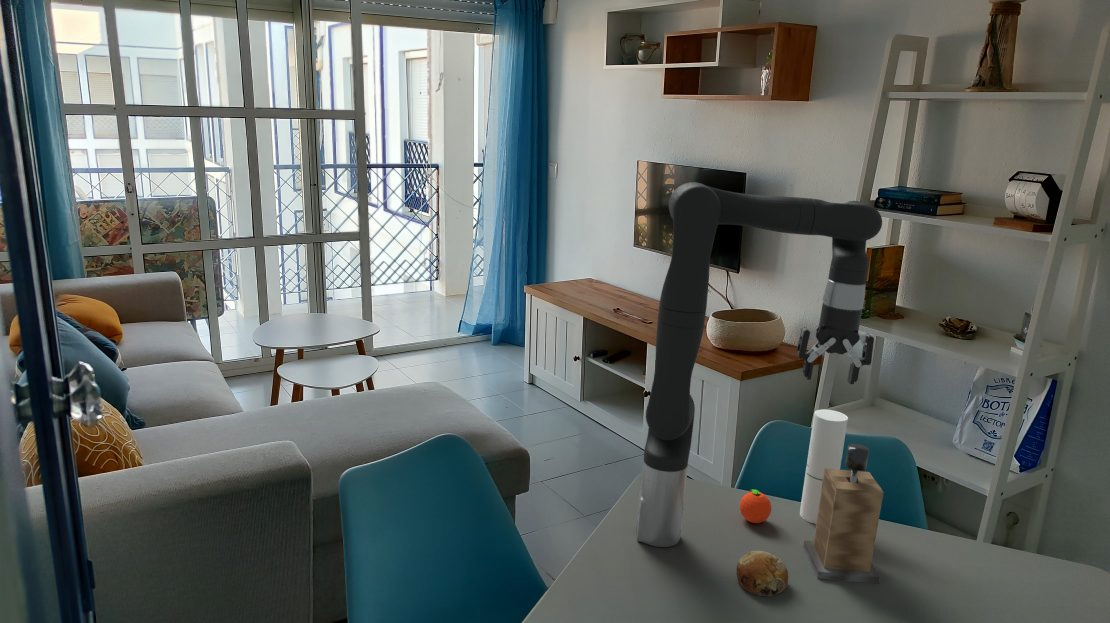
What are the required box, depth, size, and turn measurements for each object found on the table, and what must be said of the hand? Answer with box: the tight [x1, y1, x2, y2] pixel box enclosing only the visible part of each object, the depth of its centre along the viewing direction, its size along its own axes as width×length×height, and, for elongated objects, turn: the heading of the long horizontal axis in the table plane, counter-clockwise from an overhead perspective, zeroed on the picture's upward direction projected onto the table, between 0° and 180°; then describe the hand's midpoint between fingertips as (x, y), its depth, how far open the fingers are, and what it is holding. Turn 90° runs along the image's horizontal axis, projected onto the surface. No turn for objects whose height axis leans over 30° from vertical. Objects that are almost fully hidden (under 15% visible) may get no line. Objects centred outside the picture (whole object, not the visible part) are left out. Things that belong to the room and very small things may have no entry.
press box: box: [803, 469, 884, 584], centre depth 162 cm, size 12×12×19 cm
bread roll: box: [736, 550, 789, 598], centre depth 156 cm, size 10×10×8 cm
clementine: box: [739, 489, 772, 524], centre depth 180 cm, size 8×7×7 cm
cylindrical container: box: [799, 408, 849, 525], centre depth 181 cm, size 7×7×25 cm
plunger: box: [844, 443, 870, 483], centre depth 161 cm, size 7×7×24 cm
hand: (829, 380), depth 162 cm, fingers open, 8 cm apart
